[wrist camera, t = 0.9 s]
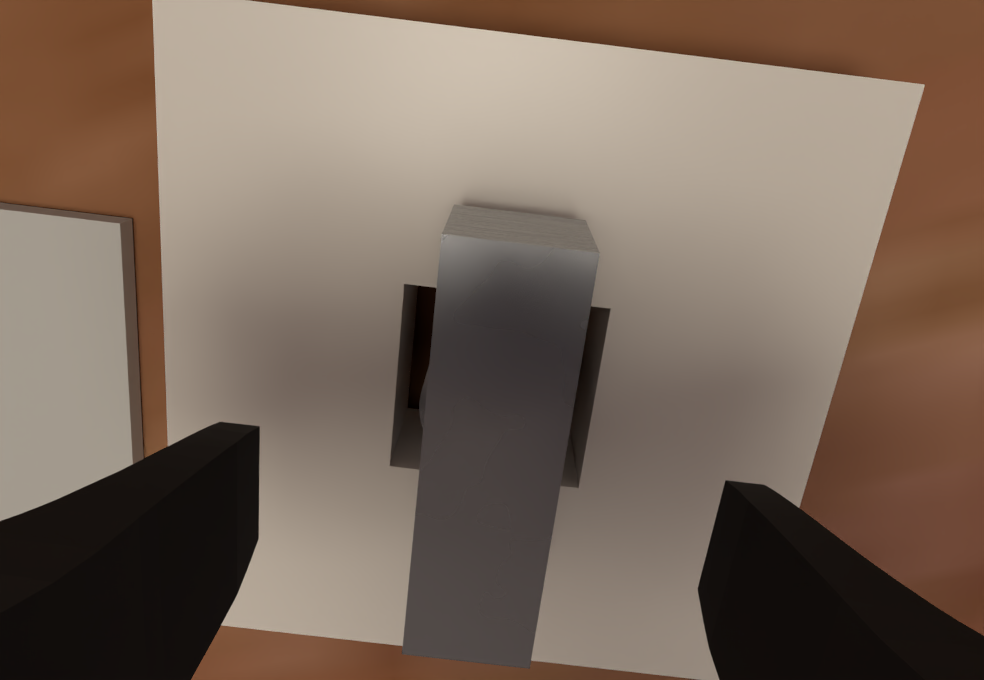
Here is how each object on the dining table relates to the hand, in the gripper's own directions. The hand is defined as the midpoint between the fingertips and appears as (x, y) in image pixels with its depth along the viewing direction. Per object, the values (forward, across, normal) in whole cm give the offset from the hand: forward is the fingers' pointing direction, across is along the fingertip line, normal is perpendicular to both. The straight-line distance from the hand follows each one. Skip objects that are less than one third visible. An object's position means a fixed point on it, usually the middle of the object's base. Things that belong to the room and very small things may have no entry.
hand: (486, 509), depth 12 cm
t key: (+8, 0, 0) cm, 8 cm away
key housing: (+8, 0, 0) cm, 8 cm away
